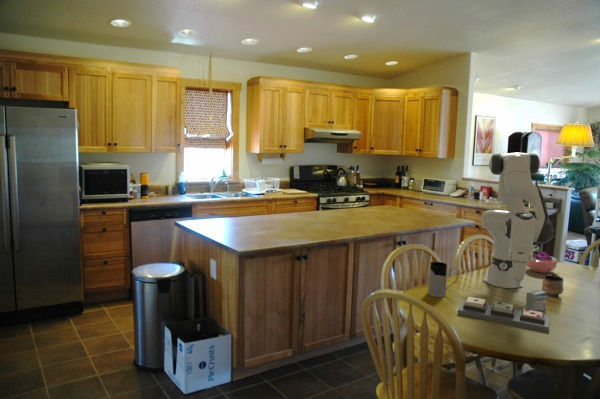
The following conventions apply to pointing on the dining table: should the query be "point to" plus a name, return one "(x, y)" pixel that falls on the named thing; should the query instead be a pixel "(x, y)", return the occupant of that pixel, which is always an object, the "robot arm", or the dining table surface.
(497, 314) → the key panel
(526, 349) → the dining table surface
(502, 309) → the key two
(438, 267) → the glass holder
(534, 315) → the key three
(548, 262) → the cell model
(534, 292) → the medicine box
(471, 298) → the key one
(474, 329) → the dining table surface
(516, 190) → the robot arm
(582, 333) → the dining table surface
